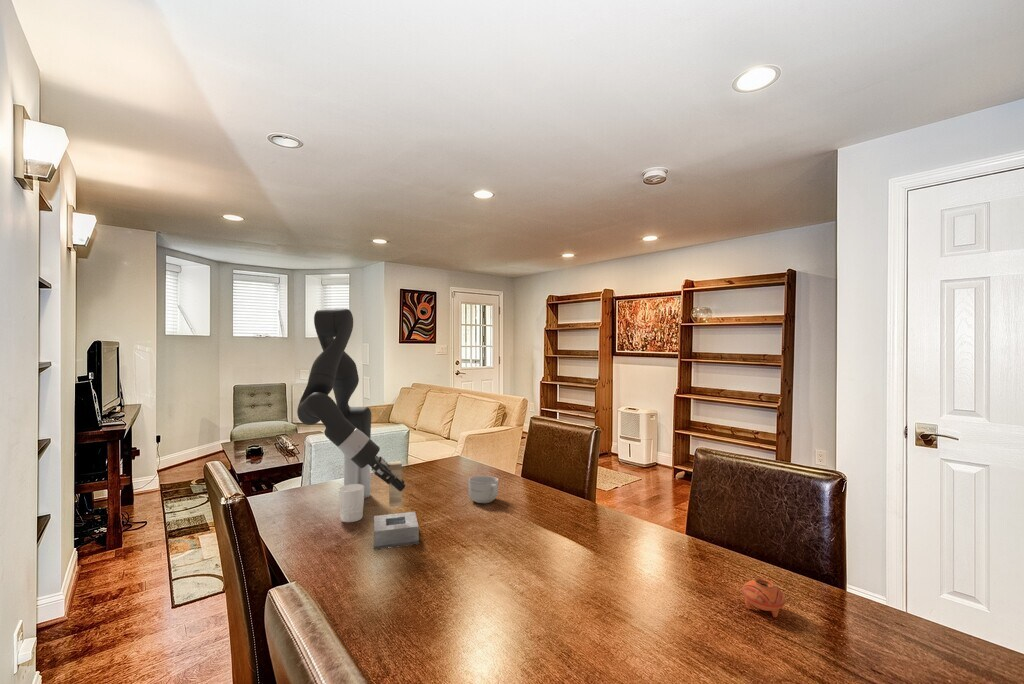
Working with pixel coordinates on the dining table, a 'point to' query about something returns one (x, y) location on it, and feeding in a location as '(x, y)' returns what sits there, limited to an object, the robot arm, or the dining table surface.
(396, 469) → the square wooden peg
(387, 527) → the grey square socket block
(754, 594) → the footed terracotta jar
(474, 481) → the teacup
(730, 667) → the dining table surface
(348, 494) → the white cup
